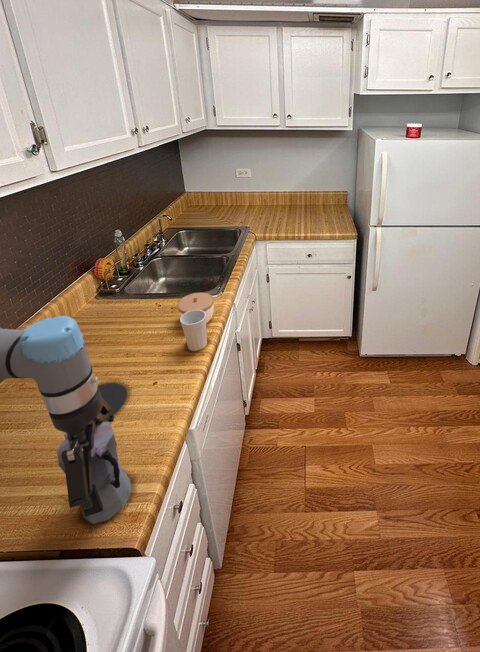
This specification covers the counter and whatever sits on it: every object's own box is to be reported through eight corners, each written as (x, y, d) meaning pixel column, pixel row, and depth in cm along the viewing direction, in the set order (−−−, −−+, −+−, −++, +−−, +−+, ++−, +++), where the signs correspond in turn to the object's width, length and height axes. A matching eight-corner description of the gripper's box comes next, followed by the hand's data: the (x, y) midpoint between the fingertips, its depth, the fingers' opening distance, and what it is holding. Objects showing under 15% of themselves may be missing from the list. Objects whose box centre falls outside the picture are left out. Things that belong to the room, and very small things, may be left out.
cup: (190, 337, 116) (186, 309, 112) (213, 338, 116) (209, 310, 112) (181, 354, 109) (175, 324, 105) (205, 354, 109) (200, 324, 104)
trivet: (59, 437, 82) (58, 434, 82) (76, 393, 95) (75, 390, 94) (122, 420, 87) (122, 417, 86) (131, 380, 99) (130, 377, 99)
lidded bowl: (208, 308, 133) (205, 284, 129) (221, 323, 124) (218, 298, 120) (176, 320, 126) (171, 295, 122) (187, 337, 116) (183, 311, 112)
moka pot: (105, 464, 76) (83, 400, 69) (156, 491, 71) (138, 425, 64) (62, 509, 68) (32, 441, 60) (117, 543, 63) (91, 474, 55)
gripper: (78, 455, 49) (110, 540, 57) (112, 347, 70) (132, 420, 78) (16, 473, 47) (59, 558, 55) (71, 356, 68) (96, 430, 76)
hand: (102, 477), depth 67 cm, fingers open, 12 cm apart
